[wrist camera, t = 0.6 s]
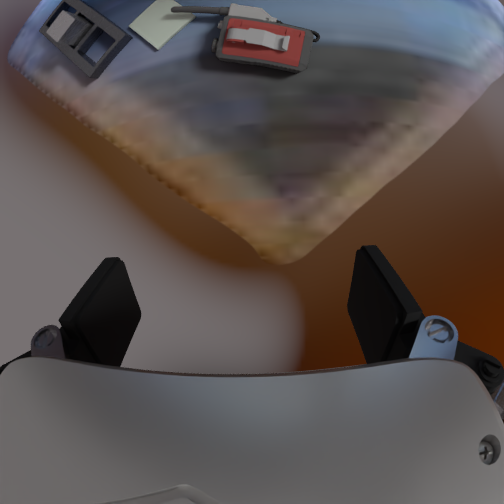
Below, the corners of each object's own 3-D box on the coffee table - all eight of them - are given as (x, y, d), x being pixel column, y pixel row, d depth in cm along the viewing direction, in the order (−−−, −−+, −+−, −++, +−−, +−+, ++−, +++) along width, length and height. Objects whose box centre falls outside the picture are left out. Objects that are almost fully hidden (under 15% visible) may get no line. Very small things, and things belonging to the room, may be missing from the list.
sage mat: (165, -5, 23) (164, -7, 23) (196, 17, 26) (195, 15, 25) (130, 27, 25) (128, 26, 25) (159, 50, 28) (157, 49, 27)
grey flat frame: (47, 32, 23) (38, 30, 21) (76, -4, 20) (68, -7, 18) (97, 78, 29) (89, 77, 27) (132, 37, 26) (125, 34, 24)
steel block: (87, 18, 23) (62, 10, 17) (99, 28, 25) (75, 19, 19) (71, 37, 25) (45, 32, 18) (83, 47, 26) (57, 42, 20)
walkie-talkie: (319, 25, 26) (174, 6, 24) (329, 16, 22) (166, -4, 20) (309, 78, 30) (162, 59, 28) (317, 75, 27) (152, 53, 24)
